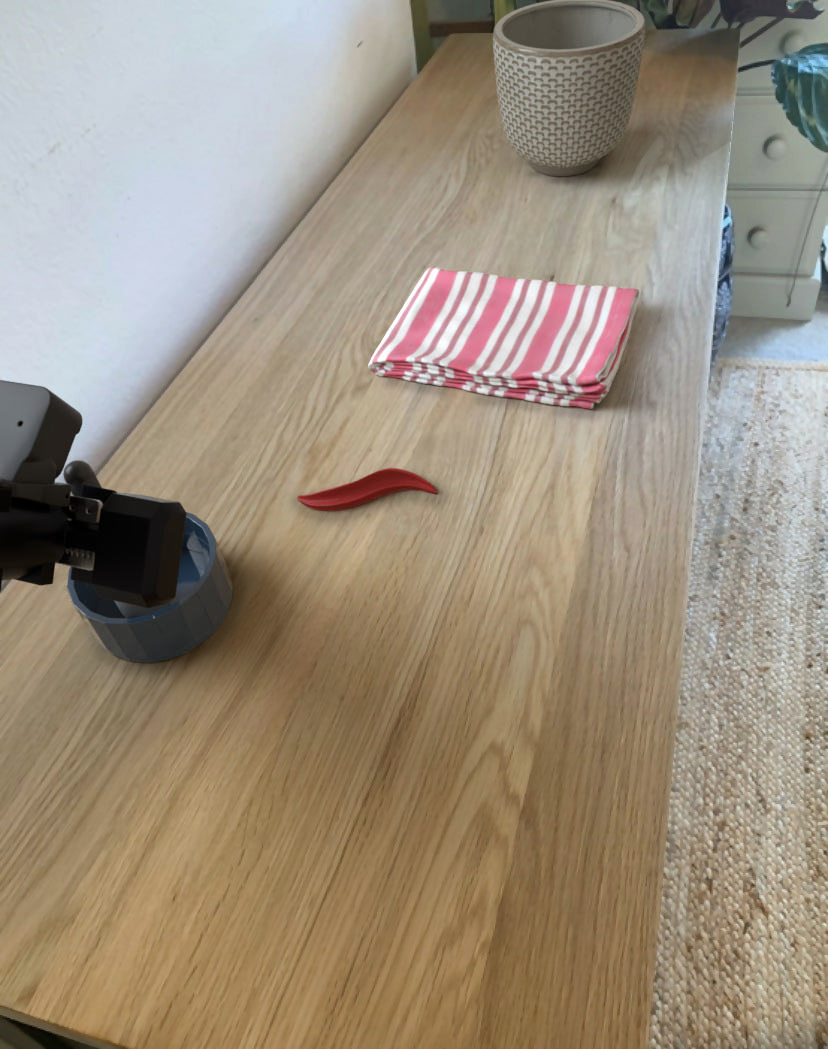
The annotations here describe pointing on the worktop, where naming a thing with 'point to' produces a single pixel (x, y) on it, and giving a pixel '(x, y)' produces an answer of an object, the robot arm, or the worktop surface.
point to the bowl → (181, 621)
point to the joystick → (77, 476)
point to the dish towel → (509, 337)
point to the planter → (567, 80)
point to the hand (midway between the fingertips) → (122, 523)
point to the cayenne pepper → (366, 490)
